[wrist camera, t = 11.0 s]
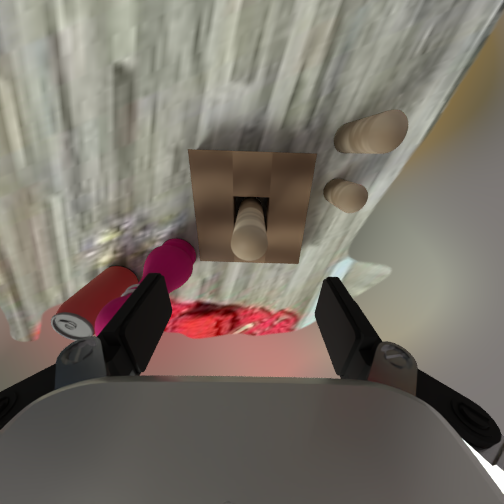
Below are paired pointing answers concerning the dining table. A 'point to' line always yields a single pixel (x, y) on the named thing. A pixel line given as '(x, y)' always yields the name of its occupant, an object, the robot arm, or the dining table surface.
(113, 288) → the beer can
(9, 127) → the dining table surface
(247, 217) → the long pin
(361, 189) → the short pin
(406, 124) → the medium pin
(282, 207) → the hole block
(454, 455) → the robot arm
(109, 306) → the pepper mill
